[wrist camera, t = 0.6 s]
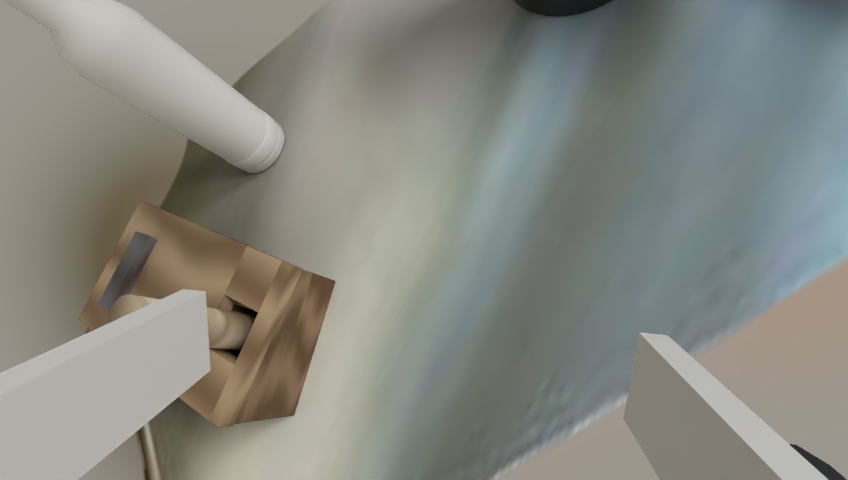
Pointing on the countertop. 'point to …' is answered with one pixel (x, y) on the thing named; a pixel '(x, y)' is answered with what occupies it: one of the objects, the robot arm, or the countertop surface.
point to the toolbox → (286, 351)
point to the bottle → (157, 78)
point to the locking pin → (222, 324)
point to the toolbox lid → (204, 271)
